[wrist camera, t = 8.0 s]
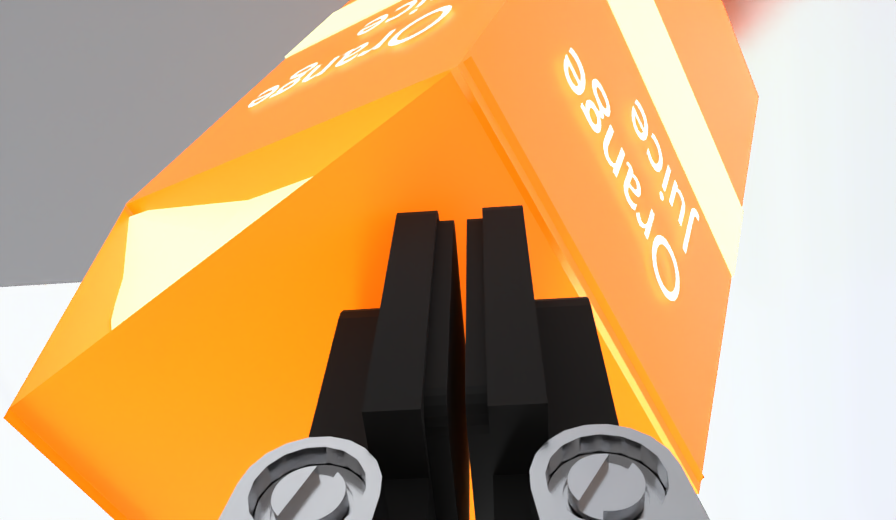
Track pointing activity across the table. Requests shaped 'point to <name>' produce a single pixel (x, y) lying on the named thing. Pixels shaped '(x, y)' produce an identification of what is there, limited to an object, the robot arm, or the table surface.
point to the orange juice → (372, 224)
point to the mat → (116, 108)
